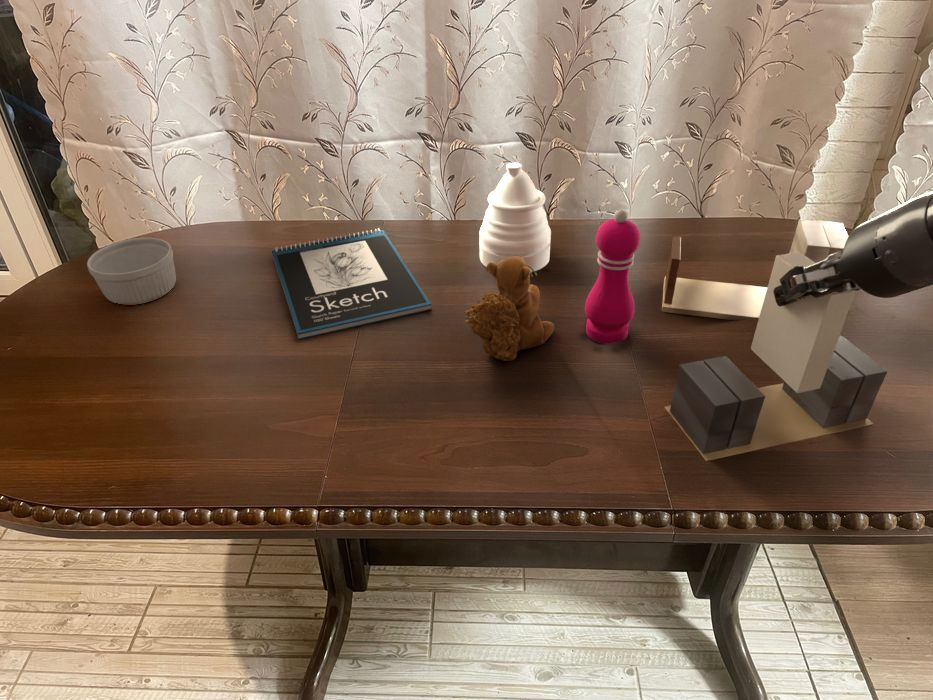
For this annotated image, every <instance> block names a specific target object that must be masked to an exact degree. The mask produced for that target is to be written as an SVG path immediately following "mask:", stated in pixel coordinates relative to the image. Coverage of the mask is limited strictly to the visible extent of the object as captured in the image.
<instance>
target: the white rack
mask: <svg viewBox="0 0 933 700" xmlns="http://www.w3.org/2000/svg"><path fill="white" fill-rule="evenodd" d="M797 223H798V224H797V226H796V229H795V232H794V236H793V239H792V243H791V246H790V250H789V253H795V252H800V253H802V254H803V255H804V256H806V257H807V258H809V259H810V260H812V261H813V262H815V263H818V262H820V261H823V260H825V259H827V257H828V256H829V255H831V254H833V253H836V252H839V251H842V250H843V249H844V246H845V243H846V240H847V238H848V236H849V235H848V232H847V231H846V229H845V226H844V223H843V222H839V221H827V220H815V219H803V218H799V219H798V222H797ZM681 241H682V236H677V235H676V236H675V235H673V236H672V240H671V247H670V252H669V257H668V263H667V269H666V274H665V276H664V278H663V283H662V285H663V287H662V299H661V300H662V301H661V312H662V313H670V314H678V315H687V316H695V317H704V318H711V319H719V320H728V321H735V322H739V321H744V320H751V319H759V316H760V313H761V309H762V305H763V302H764V298H765V295H766V291H767V287H768V286H767V287H766V286H756V285H748V284H741V283H740V284H739V283H731V282H730V283H729V282H721V281H720V282H719V281H713V280H712V281H711V280H702V279H693V278H685V277H678V273H679V267H680V263H681V251H682V250H681V248H682V247H681V245H682V242H681Z"/></svg>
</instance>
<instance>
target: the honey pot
mask: <svg viewBox="0 0 933 700" xmlns="http://www.w3.org/2000/svg"><path fill="white" fill-rule="evenodd" d="M505 168H506V173H505V174H504V175H503V176H502V178H501V179H500V181H499V182H498V184H497V186H496V188H495V189H494V190H493V191H491V192H490V193H489V194H488V197H487V202H488V204H489V205H488V207H487V209H486V210H485V213H484V218H483V221H482V225H481V226H480V229H479V241H478V243H479V248H478V249H479V260H480V263H481V264H482V265H483V266H484V267H486V266H487V264H488V263H490V262H492V263H494V264H498V263H499V262H500V261H502V260H504V259H506V258H509V257H512V256H518V257H521V258H522V259H523V260H524V261H525V262H526V264H527V265H528V266H530V267H531V268H532V269H533V270H534V271H535V272H538V271H539V270H541V269H543V268H544V267H546V266H547V265H548V264H549V262H550V257H551V239H552V237H551V236H552V231H551V228H550V225H549V221H548V219H547V213H546V211H545V209H544V207H543V206H544V204H545V203H546V199H547V198H546V196H545V193H544V192H542V191H541V190H539V189H537V188H536V186H535V184H534V182H533V180H532V178H531V177H530V176H529V175H528V173H527V172H526V171H525V170H523V169H522V168H523V164H521V163H520V162H515V161H514V162H507V163H506V164H505ZM486 268H487V267H486ZM532 269H531V272H532V273H534V272H533V270H532Z"/></svg>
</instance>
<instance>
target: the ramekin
mask: <svg viewBox="0 0 933 700" xmlns="http://www.w3.org/2000/svg"><path fill="white" fill-rule="evenodd" d="M86 266H87V270H88V273H89V275H91V276H92V277H93V279H94V280H95V282H96V284H97V286H98V287H99V289H100V291H101V293H102V294H103V296H104V297H105V298H106V299H107V300H108V301H110V302H111V303H114V304H116V303H118V304H117V305H119V304H139V303H143V302H147V301H151V300H154V299H156V298H159V297H160V296H163V295H164V294H166V293H167V292H169V291H170V290H171V289H172V288H174V286H175V285H176V283H177V274H176V273H177V272H176V267H175V263H174V251H173V249H172V246H171V244H170V243H169V242H168V241H166V240H164V239H161V238H158V237H135V238H134V237H133V238H128V239H124V240H121V241H120V240H119V241H116V242H112V243H110V244H108V245H106V246H104V247H102V248H100V249H98V250H97V251H95V252H94V253H92V254H91V255H90V257H88V259H87V261H86ZM172 290H173V289H172ZM172 290H171V291H172ZM171 291H170V292H171ZM170 292H169V293H170Z"/></svg>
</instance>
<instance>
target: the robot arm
mask: <svg viewBox="0 0 933 700" xmlns="http://www.w3.org/2000/svg"><path fill="white" fill-rule="evenodd" d="M779 280H780V283H781V285H780V286H778V287H776V288H774V291H773V293H774V297H775V300H776V303H777V305H778V306H785V305H788V304H791V303H793V302H796V301H799V300H800V301H802V300H805V298H808V297H811V296H813V297H814V298H820V297H825V296H828V295H831V294H835V293H841V292H848V291H852V290H856V292H857V291H860V290H862V291H863V292H865V293H866V294H868V295H871V296H873V297H876V298H882V299H891V298H896V297H900V296H902V295H905V294H908V293H911V292H914V291H917V290H921V289H924V288H927V287H930V286H933V191H930V192H927V193H924V194H921V195H919V196H917V197H915V198H911V199H910V200H908V201H906V202H904V203H902V204H900V205H898V206H896V207H894V208H892V209H890V210H888V211H885V212H884V213H881V214H879V215H878V216H876V217H873V218H871V219H869V220H867V221H865V222H863V223H861V224H858V226H857V227H855V228H854V229H853V230H852V231H851V232H850V233H849V235H848V238H847V240H846V243H845V246H844V249H843V250H842V251H839V252H836V253H833V254H831V255H829V256H828V257H827V259H825V260H823V261H820V262H818V263H815V264H813V265H810V266H808V267H806V268H804V267H803V266H800V267H799V266H796V267H793V269H790V270H789V271H788V272H787V273H786V274H785V275H784V276H783V277H782V278H780V279H779ZM828 288H829V289H828Z"/></svg>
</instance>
